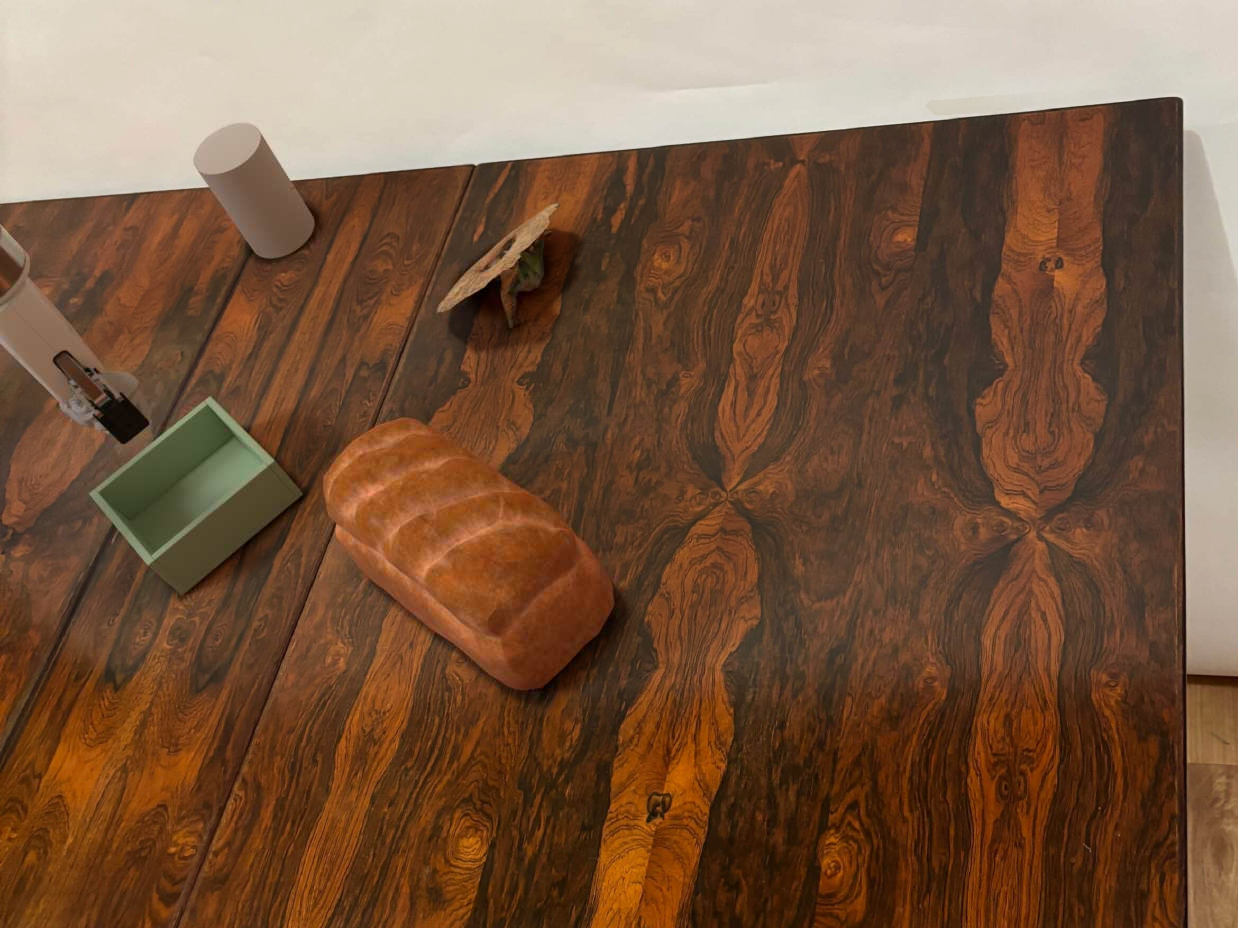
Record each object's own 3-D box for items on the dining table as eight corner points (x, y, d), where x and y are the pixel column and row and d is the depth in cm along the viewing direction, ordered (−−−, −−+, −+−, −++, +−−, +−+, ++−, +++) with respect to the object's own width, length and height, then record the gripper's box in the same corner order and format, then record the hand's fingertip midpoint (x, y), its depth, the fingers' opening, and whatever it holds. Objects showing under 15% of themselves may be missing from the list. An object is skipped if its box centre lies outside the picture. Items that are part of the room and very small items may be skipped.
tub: (182, 595, 116) (147, 565, 111) (123, 525, 123) (88, 493, 118) (303, 494, 119) (274, 460, 114) (239, 430, 125) (209, 395, 120)
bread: (529, 713, 101) (460, 625, 87) (348, 567, 113) (264, 469, 100) (636, 599, 104) (586, 497, 90) (449, 468, 116) (380, 361, 102)
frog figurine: (96, 421, 111) (45, 371, 105) (162, 390, 111) (115, 338, 105) (102, 465, 108) (51, 416, 102) (170, 433, 108) (123, 383, 102)
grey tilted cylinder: (326, 213, 139) (274, 126, 129) (291, 262, 136) (234, 178, 126) (275, 204, 142) (219, 119, 132) (239, 253, 140) (180, 169, 129)
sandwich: (493, 298, 135) (459, 236, 131) (600, 256, 129) (568, 189, 125) (439, 372, 122) (399, 306, 118) (555, 329, 116) (517, 258, 112)
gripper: (-101, 252, 96) (49, 397, 111) (-23, 346, 88) (127, 488, 103) (-26, 197, 97) (112, 348, 113) (57, 284, 89) (194, 434, 104)
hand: (118, 414), depth 108 cm, fingers closed on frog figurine, 6 cm apart
